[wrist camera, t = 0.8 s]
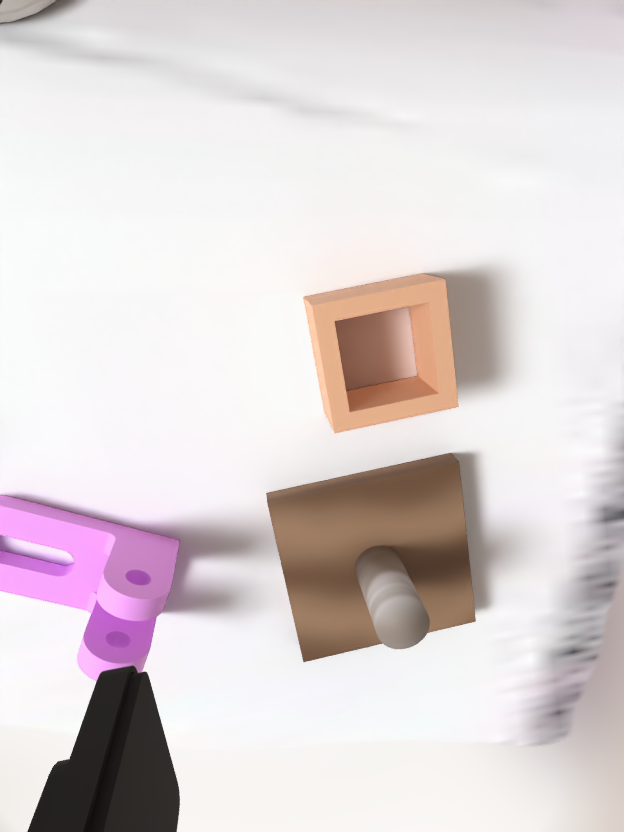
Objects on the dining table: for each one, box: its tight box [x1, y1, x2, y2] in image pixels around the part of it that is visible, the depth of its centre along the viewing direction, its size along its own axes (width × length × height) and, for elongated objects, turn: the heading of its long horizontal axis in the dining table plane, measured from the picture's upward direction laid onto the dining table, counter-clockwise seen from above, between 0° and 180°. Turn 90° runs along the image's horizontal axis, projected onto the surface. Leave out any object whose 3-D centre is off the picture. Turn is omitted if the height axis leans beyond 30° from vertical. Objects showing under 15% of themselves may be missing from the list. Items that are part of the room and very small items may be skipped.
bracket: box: [0, 495, 180, 681], centre depth 33 cm, size 13×6×7 cm, turn 69°
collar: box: [303, 274, 459, 433], centre depth 33 cm, size 7×7×4 cm
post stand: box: [266, 453, 476, 662], centre depth 35 cm, size 12×12×8 cm
